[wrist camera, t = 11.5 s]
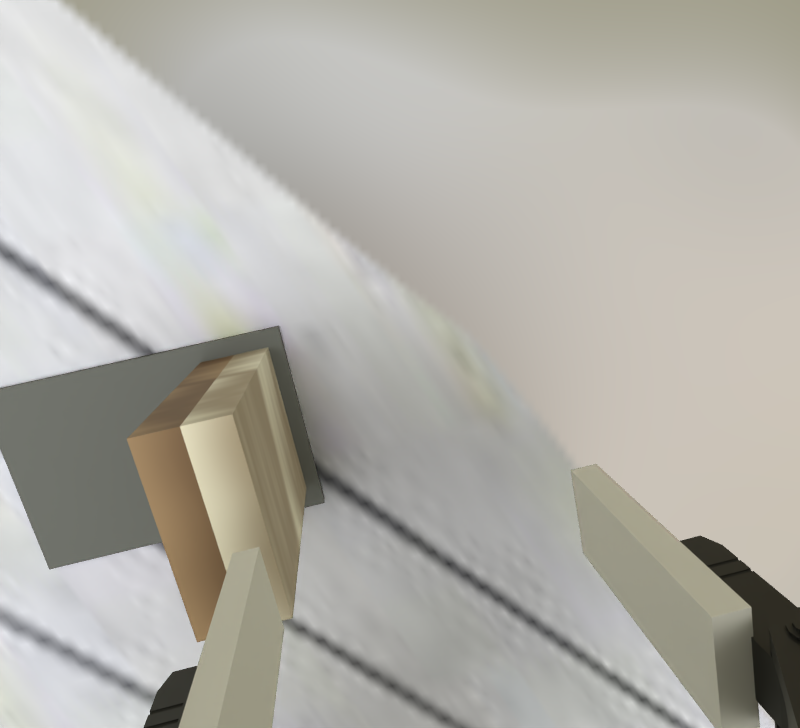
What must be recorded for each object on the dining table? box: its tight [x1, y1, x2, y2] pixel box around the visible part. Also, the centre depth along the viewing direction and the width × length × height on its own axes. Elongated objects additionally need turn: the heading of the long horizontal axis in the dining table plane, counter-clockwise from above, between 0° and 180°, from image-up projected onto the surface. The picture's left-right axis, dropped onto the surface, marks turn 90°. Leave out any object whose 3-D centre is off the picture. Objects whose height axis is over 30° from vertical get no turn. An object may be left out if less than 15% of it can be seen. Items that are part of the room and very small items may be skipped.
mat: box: [0, 326, 324, 569], centre depth 31 cm, size 15×10×1 cm, turn 101°
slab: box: [127, 347, 306, 642], centre depth 26 cm, size 4×8×11 cm, turn 12°
